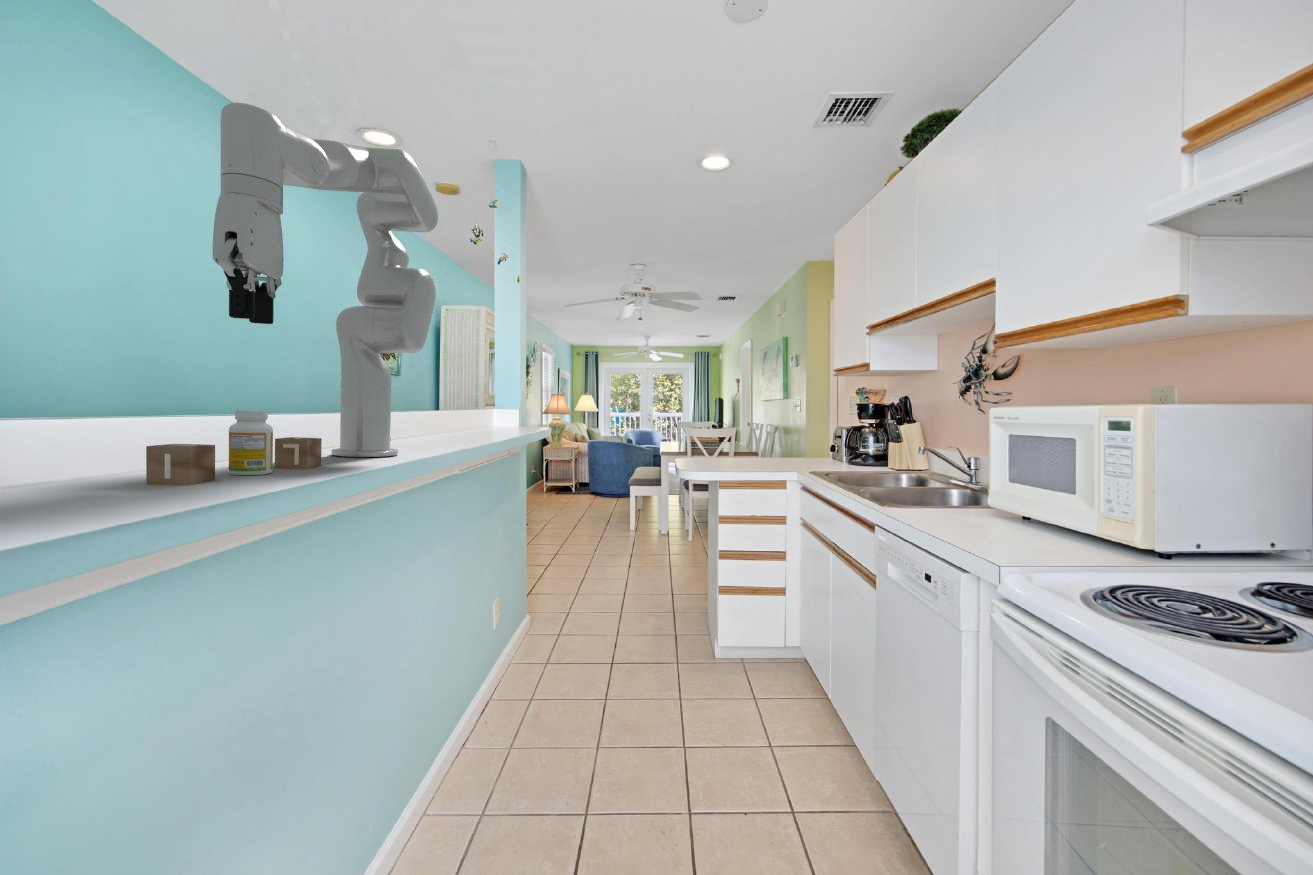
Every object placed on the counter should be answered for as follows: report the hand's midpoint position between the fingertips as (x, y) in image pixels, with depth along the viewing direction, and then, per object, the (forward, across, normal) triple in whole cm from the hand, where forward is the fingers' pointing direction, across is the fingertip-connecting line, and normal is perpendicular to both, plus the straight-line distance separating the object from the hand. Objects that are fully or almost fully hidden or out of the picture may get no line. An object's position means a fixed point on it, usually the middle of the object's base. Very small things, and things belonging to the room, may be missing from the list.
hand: (251, 319), depth 82 cm
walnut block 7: (+23, -10, +2) cm, 26 cm away
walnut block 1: (+23, +10, -3) cm, 26 cm away
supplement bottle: (+24, 0, 0) cm, 24 cm away
